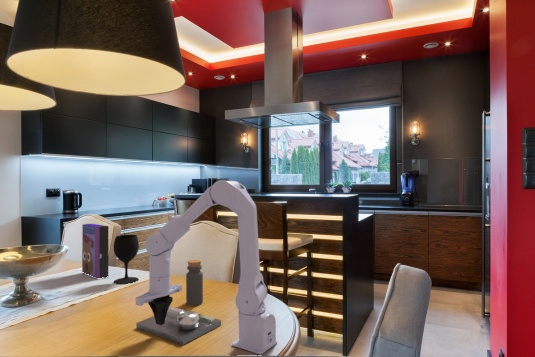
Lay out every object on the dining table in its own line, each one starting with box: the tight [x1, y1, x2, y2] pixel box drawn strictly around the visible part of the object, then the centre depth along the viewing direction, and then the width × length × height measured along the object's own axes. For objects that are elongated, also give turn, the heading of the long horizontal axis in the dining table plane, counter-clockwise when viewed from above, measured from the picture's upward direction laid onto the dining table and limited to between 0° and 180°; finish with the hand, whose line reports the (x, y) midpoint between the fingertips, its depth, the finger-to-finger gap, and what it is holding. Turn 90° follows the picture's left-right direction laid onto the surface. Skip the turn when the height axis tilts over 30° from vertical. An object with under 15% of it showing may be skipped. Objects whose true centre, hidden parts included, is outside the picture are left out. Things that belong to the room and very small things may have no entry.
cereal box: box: [81, 223, 109, 279], centre depth 160 cm, size 17×5×24 cm, turn 50°
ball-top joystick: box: [166, 305, 200, 330], centre depth 98 cm, size 12×6×4 cm, turn 56°
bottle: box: [185, 259, 204, 307], centre depth 120 cm, size 6×6×15 cm
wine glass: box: [113, 234, 140, 285], centre depth 150 cm, size 10×10×20 cm
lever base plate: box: [135, 307, 222, 346], centre depth 100 cm, size 20×15×2 cm
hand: (160, 323), depth 95 cm, fingers closed
